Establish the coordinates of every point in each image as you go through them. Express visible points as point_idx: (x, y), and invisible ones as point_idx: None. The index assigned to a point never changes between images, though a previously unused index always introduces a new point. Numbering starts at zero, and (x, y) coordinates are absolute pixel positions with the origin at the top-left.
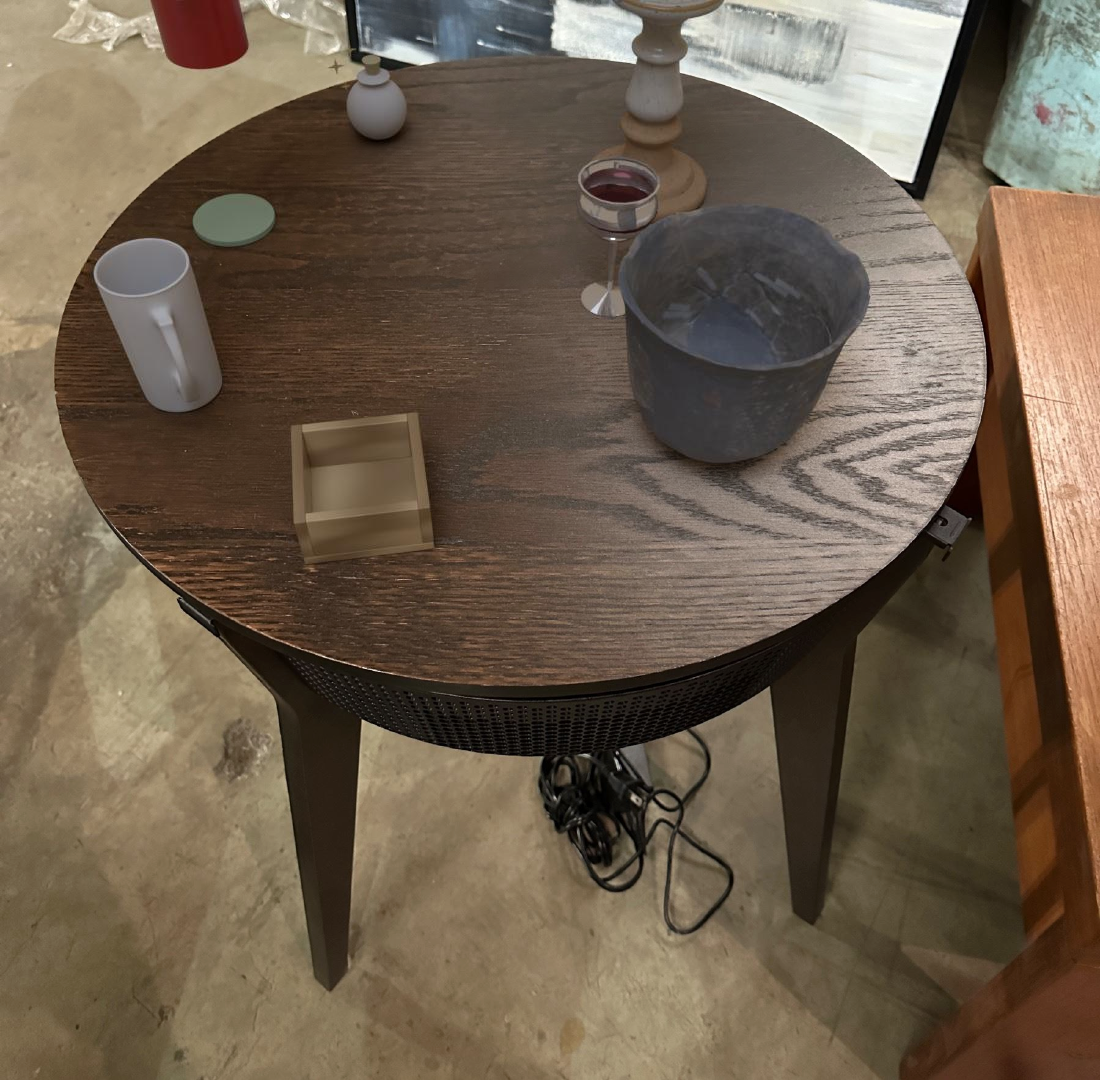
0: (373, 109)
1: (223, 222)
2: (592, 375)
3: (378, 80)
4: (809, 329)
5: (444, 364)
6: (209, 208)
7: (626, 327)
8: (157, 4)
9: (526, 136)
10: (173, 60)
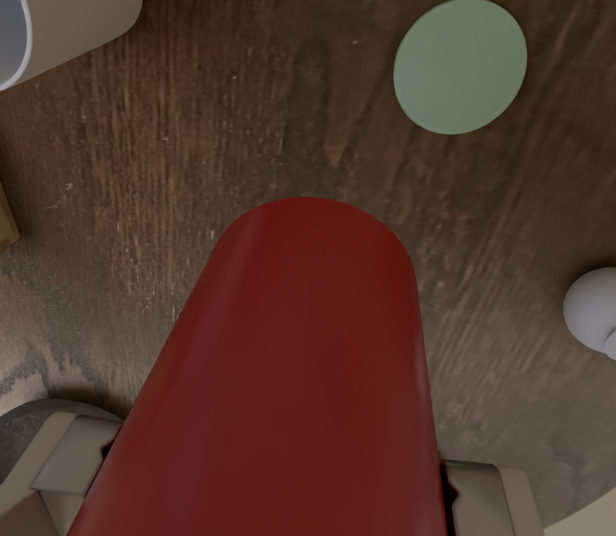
0: (581, 315)
1: (448, 54)
2: (134, 372)
3: (611, 348)
4: None
5: (145, 274)
6: (497, 30)
7: (7, 465)
8: (194, 316)
9: (511, 412)
10: (237, 221)
